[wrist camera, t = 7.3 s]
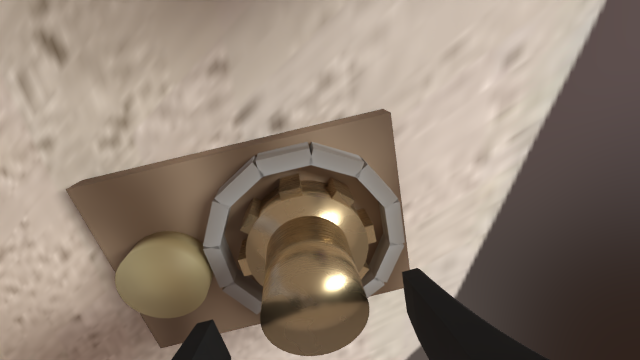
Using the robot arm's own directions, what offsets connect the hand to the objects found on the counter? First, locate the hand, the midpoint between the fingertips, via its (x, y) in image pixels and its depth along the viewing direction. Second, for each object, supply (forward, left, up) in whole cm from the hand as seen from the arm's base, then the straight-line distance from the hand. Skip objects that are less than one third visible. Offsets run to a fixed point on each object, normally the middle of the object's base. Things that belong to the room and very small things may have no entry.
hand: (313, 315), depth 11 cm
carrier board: (-2, 0, -7) cm, 7 cm away
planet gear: (0, 0, -6) cm, 6 cm away
